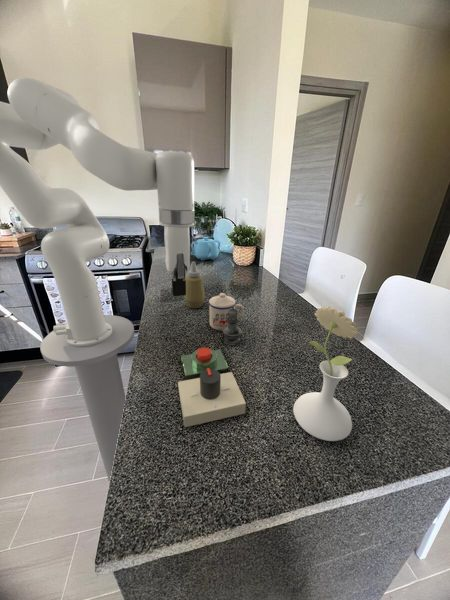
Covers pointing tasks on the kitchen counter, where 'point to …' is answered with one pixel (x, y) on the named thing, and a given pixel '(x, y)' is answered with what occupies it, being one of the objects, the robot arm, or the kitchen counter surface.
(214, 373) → the knob
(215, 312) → the teacup with lid
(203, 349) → the button
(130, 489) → the kitchen counter surface
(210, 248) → the decorative pot
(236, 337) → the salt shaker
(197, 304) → the squeeze bottle
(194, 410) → the panel
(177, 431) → the kitchen counter surface
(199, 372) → the button box
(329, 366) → the flower in vase
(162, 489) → the kitchen counter surface
